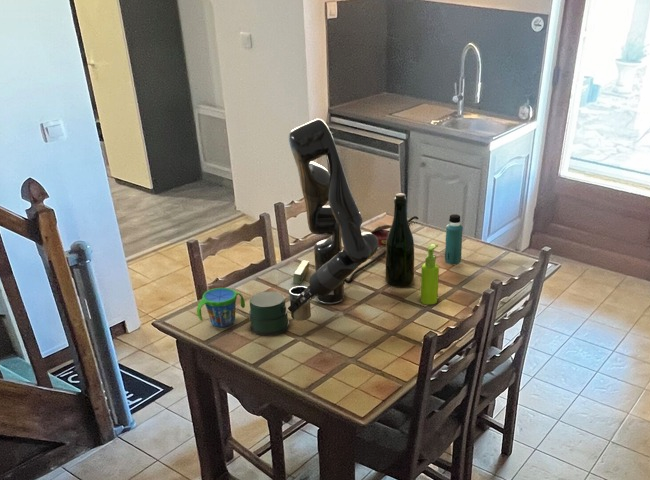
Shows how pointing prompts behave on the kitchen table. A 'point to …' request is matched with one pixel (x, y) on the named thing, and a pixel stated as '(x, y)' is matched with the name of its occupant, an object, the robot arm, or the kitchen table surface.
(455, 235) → the beverage bottle
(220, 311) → the snack cup
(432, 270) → the soap dispenser
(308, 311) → the tumbler
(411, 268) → the wine bottle
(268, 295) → the green lidded canister
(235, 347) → the kitchen table surface
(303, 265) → the medication box
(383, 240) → the canned food
